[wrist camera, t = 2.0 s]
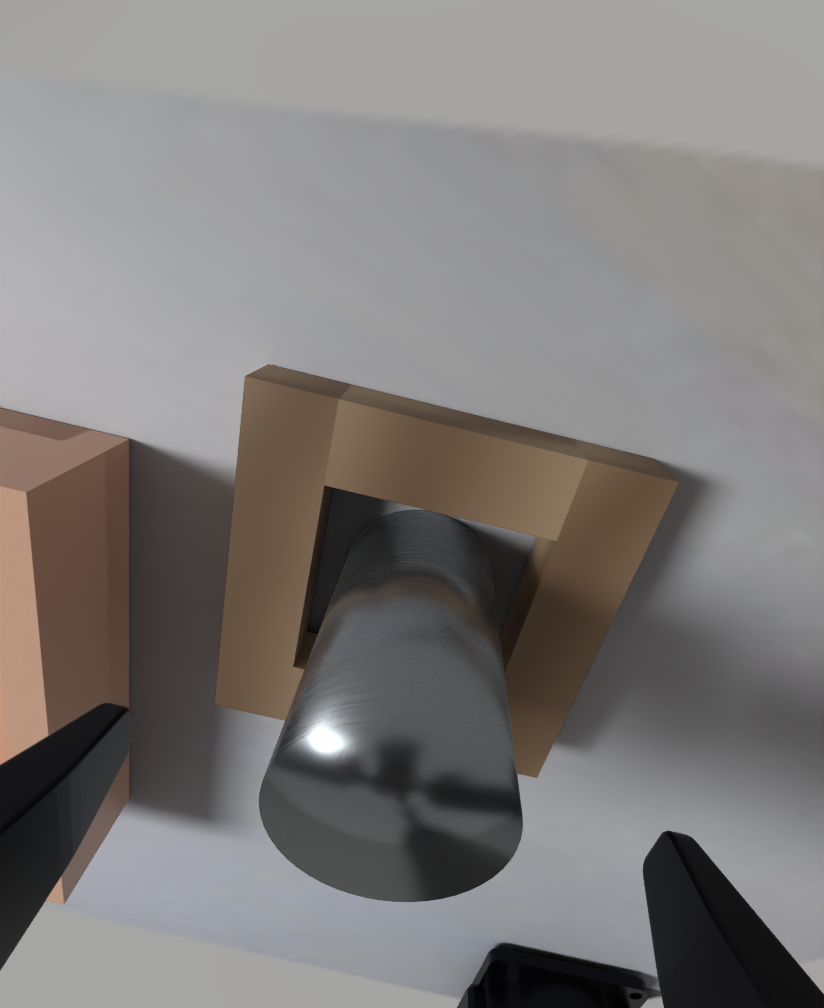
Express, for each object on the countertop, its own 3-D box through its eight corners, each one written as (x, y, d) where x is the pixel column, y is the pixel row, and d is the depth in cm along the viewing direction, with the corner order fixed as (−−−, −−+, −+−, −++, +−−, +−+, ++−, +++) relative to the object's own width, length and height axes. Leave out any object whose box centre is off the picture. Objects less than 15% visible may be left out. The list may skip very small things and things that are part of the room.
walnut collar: (654, 459, 12) (679, 482, 11) (529, 735, 16) (536, 777, 15) (268, 364, 12) (245, 376, 11) (234, 667, 16) (214, 704, 15)
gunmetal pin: (510, 529, 14) (561, 760, 7) (469, 648, 15) (479, 922, 9) (360, 493, 13) (274, 695, 7) (335, 617, 15) (247, 871, 9)
